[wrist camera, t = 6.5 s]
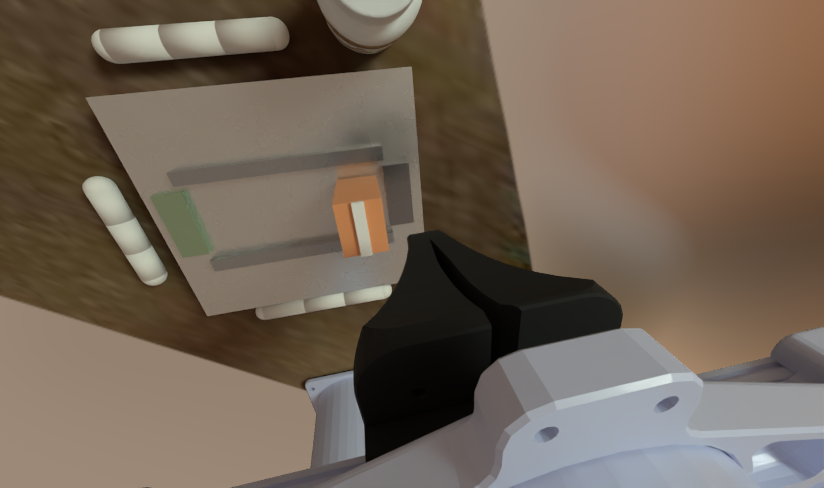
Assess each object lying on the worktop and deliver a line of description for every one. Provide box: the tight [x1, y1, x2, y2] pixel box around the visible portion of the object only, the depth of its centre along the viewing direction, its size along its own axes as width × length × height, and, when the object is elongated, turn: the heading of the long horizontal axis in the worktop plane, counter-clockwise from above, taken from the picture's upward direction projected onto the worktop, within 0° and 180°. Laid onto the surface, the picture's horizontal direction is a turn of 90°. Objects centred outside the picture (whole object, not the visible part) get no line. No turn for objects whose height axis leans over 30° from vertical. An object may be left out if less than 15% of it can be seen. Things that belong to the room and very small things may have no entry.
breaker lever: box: [332, 175, 389, 258], centre depth 17 cm, size 3×2×4 cm
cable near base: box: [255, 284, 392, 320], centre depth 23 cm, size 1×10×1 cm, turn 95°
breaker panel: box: [86, 67, 424, 316], centre depth 19 cm, size 14×16×2 cm
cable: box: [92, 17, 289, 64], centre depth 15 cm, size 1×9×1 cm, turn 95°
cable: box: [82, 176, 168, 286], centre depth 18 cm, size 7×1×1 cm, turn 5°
